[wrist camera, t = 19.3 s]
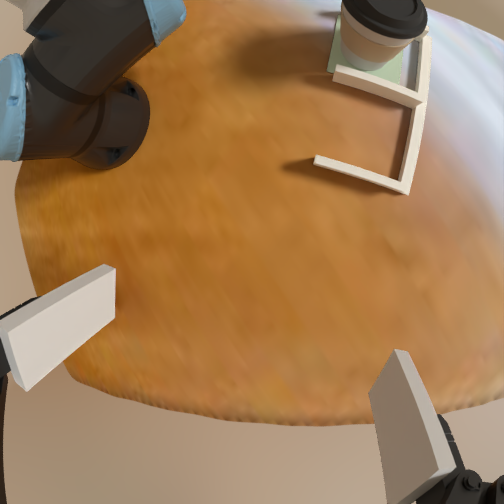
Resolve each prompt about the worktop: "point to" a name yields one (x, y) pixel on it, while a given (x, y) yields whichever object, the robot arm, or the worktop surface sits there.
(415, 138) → the e-shaped divided frame
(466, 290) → the worktop surface
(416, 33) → the coffee cup
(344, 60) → the pad
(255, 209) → the worktop surface
